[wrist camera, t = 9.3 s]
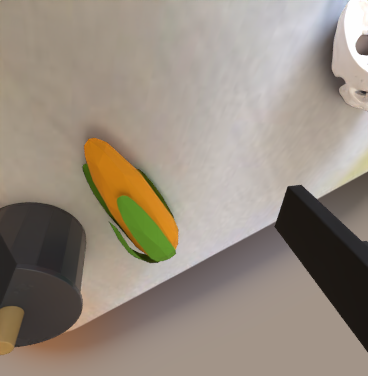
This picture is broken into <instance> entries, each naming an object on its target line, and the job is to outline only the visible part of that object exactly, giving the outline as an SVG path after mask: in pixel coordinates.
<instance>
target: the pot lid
mask: <svg viewBox="0 0 368 376" xmlns="http://www.w3.org/2000/svg"><path fill="white" fill-rule="evenodd" d="M82 305H83V299H82V295H81V293H80V291H79V289H78V288H77V286H76V285H75V284H74V283H73V282H72V281H71V280H69V279H68V278H66V277H65V276H63V275H61V274H59V273H57V272H55V271H52V270H50V269H46V268H43V267H39V266H34V265H29V264H21V263H17V265H16V268H15V271H14V273H13V276H12V278H11V281H10V283H9V286H8V288H7V291H6V294H5V296H4V299H3V301H2V304H1V306H0V355H4V354H7V353H10V352H11V351H12V350H13V349H14V347H20V346H27V345H32V344H36V343H40V342H43V341H46V340H49V339H51V338H54V337H56V336H58V335H60V334H61V333H63V332H65V331H66V330H68V329H69V328H70V327H71V326H72V325H73V324H74V323H75V322H76V321H77V320H78V318H79V316H80V314H81V311H82Z"/></svg>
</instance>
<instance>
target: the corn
mask: <svg viewBox="0 0 368 376" xmlns="http://www.w3.org/2000/svg"><path fill="white" fill-rule="evenodd" d="M84 151H85V158H86V161H87V164H84V165H83V172H84V174H85V177H86V180H87V182H88V184H89V186H90V188H91V190H92V192H93V194H94V195H95V196H96V198H97V199H98V201H99V202H100V204H101V205H102V206H103V208H104V209H105V211H106V212H107V213H108V215H109V216H110V217H111V218H112V219H113V221H114V222H115V223H116V224H117V225H118V226H119V228H120V229H121V230H122V231H123V232H124V233H125V234H126V236H127V237H128V238H129V239H130V240H131V241H132V242H133V243H134V245H135V246H136V247H137V248H138V249H139V250H141V251H142V252H144V253H145V254H141V253H138V252H136V251H134V250H132V249H131V248H130V247H129V246H128V244H127V243H126V241H125V240H124V238H123V237H122V235H121V234H120V232H119V231H118V229H117V228H116V227H115V226H114V225H113V224H111V223H110V222H109V223H110V225H111V226H112V228H113V230H114V232H115V234H116V236H117V238H118V239H119V241H120V242H121V243H122V245H123V246H124V247H125V249H126V250H127V251H128V253H130V254H131V255H133V256H134V257H136V258H138V259H141V260H143V261H146V262H149V263H158V262H160V261H164V260H167V259H170V258H171V257H172V256H174V255H175V254H176V251H175V250H176V247H177V245H178V228H177V225H176V223H175V221H174V217H173V215H172V213H171V211H170V210H169V208H168V206H167V204H166V202H165V201H164V199H163V197H162V196H161V194H160V193H159V191H158V190H157V189H156V187H155V186H154V185H153V183H152V182H151V181H150V180H149V178H148V177H147V176H146V175H145V174H144V173H143V172H142V171H140V170H139V169H136V168H134V167H133V166H132V165H131V164H130V163H129V162H128V161H127V160H126V159H125V158H124V157H122V156H121V155H120V154H119V153H118V152H117V151H116V150H115V149H114V148H113V147H112V146H110V145H109V144H108V143H107V142H105V141H102V140H100V139H97V138H91V139H88V141H87V142H86V144H85V145H84ZM146 254H147V255H146Z"/></svg>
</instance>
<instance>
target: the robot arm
mask: <svg viewBox="0 0 368 376" xmlns="http://www.w3.org/2000/svg"><path fill="white" fill-rule="evenodd" d="M275 228H276V229H277V231H278V232H279V233H280V235H281V236H282V237H283V238H284V240H285V241H286V243H287V244H288V245H289V247H290V248H291V249H292V251H293V252H294V253H295V255H296V256H297V257H298V259H299V260H300V262H302V264H303V266H304V267H305V268H306V269H307V271H308V272H309V274H310V275H311V276H312V278H313V279H314V280H315V282H316V283H317V284H318V286H319V287H320V288H321V290H322V291H323V293H324V294H325V295H326V297H327V298H328V299H329V301H330V302H331V303H332V305H333V306H334V307H335V308H336V310H337V311H338V312H339V314H340V315H341V317H342V318H343V319H344V321H345V322H346V324H347V325H348V326H349V327H350V329H351V330H352V332H353V333H354V334H355V335H356V337H357V338H358V340H359V341H360V342H361V344H362V345H363V346H364V348H365V349H366V350H367V352H368V242H367V241H361V240H360V239H359V238H358V237H357V236H356V235H354V234H353V233H352V232H351V231H350V230H349V229H348V228H347V227H346V226H345V225H344V224H342V222H341V221H340V220H338V219H337V218H336V217H335V216H334V215H333V214H332V213H331V212H330V211H329V210H328V209H327V208H326V207H324V206H323V205H322V204H321V203H320V202H319V201H318V200H317V199H316V198H315V197H314V196H313V195H312V194H310V193H309V192H308V191H307V190H306V189H305V188H304V187H303V186H302V185H296V186H288V187H287V190H286V193H285V197H284V200H283V203H282V206H281V209H280V212H279V215H278V218H277V221H276V224H275ZM16 265H17V263H16V261H15V259H14V258H13V256H12V254H11V252H10V250H9V249H8V247H7V245H6V243H5V241H4V239H3V238H2V236H1V234H0V306H1V304H2V301H3V299H4V296H5V294H6V291H7V288H8V286H9V283H10V281H11V278H12V276H13V273H14V271H15V268H16Z"/></svg>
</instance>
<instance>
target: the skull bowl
mask: <svg viewBox="0 0 368 376" xmlns="http://www.w3.org/2000/svg"><path fill="white" fill-rule="evenodd" d="M362 34H365V35H368V0H349V2H348V3H347V5H346V6H345V8H344V10H343V11H342V13H341V15H340V17H339V20H338V25H337V30H336V33H335V38H334V44H333V60H332V71H333V73H334V75H335V76H336V77H342V78H343V79H344V80H345V82H346V83H345V85H343V86H341V87H340V89H339V93H340V95H341V96H342V97H343V99H344V100H345V102H346V103H347V104H349V105H351V106H353V107H356V108H362V109H364V110H365V111H368V56H363V55H360V54H358V53H357V51H356V48H355V44H356V42H357V40H358V38H359V37H360V36H361V35H362ZM357 90H361V91H367V92H366V94H364V93H362V92H360V91H357Z"/></svg>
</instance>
